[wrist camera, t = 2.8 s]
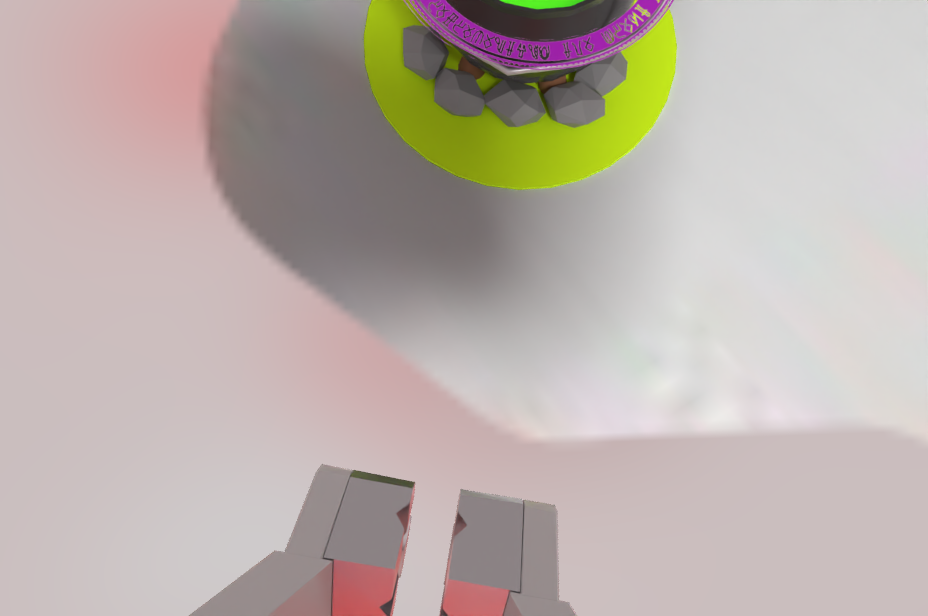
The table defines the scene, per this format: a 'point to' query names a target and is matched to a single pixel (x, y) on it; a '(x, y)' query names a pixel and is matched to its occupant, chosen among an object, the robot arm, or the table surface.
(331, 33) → the table surface
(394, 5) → the toy cauldron
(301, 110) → the table surface
